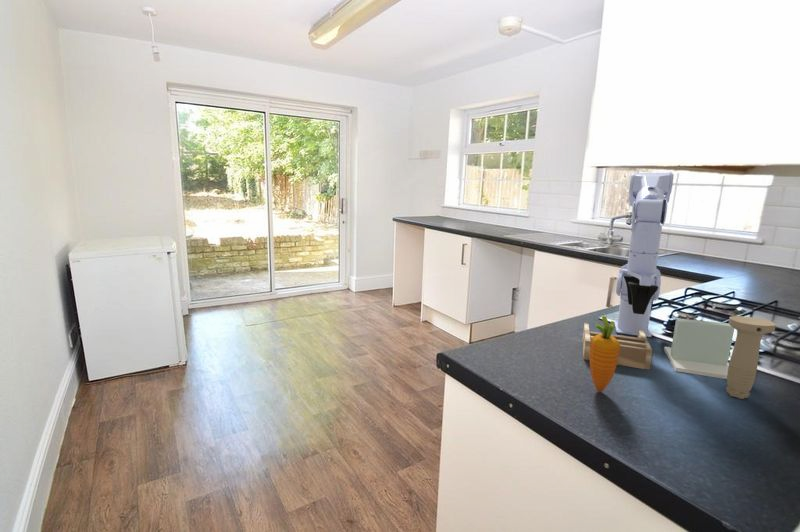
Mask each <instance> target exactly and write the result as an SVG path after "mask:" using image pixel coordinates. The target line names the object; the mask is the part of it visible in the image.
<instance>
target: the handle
mask: <svg viewBox="0 0 800 532" xmlns="http://www.w3.org/2000/svg"><path fill="white" fill-rule="evenodd" d="M728 323H729V325H730V326H732V327H733V328H734V330H736V338H735V341H734V346H733V349H732V352H731V356H730V359H729V361H728V364H729V367H728V374H727V379H726V383H727V384H726V386H725V387H726V388H725V389H726V393H727V394H728V395H729V396H730V397H733V398H737V399H740V400H744V399H748V398H749V397H750V395H751V390H752V388H753V385H754V384H755V379H756V376H757V372H758V365H759V364H758V363H759V354H760V348H761V340H762V338H763V336H765V335H767V334H770V333H774V332H775V330H776V326H777V324H776V323H775V322H773V321H771V320H767V319H765V318H758V317H752V316H744V315H743V316H741V315H740V316H739V315H738V316H737V315H734V316H733V315H732V316H729V318H728Z"/></svg>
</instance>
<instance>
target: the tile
mask: <svg viewBox="0 0 800 532" xmlns="http://www.w3.org/2000/svg"><path fill="white" fill-rule="evenodd" d="M671 348H672V346H671V347H670V346H666V345H665V346H664V347H663V351H664V353H665V354H666V356H667V358H668V359H669V362H670V364H671V366H672V367H673V369H674V371H675V372H679V373H686V374H692V375H699V376H703V377H704V376H705V377H710V378H711V377H713V378H718V379H723V380H724V379H725V380H727V374H728V367H729V363H728V364H727V366H723V365H715V364H707V363H700V362H692V361H685V360H677V359H673V358H672V357H671V356H670V354H671Z"/></svg>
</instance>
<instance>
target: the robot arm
mask: <svg viewBox="0 0 800 532" xmlns="http://www.w3.org/2000/svg"><path fill="white" fill-rule="evenodd" d="M629 180H630V182H629V187H628V188H629V190H628V195H629V196H628V202H629V206H630V207H632V209H631V217H630V218H631V219H630V221H631V230H630V231H631V234H630V240H629V241H630V242H629V251H628V258H627V263H626V264H623V265H622V266H621V267H620V269H619V270H618V274H617V280H616V286H615V287H616V288H615V294H616V295H617V296H618V297H620V298H619V299H620V300H619V301H620V302H619V309H618V316H617V317H618V318H617V320H613V322H614V323H615V325H614V329H615V331H616V333H617V334H624V335H629V336H630V335H631V336H636V337H638V330H642V331H644V333H645V336H646V338H651V337H652V334H651V331H650V330H649V324H650V316H651V310H652V304H653V301H657V300H658V299H659V296H660V292H661V285H662V279H661V275H662V273H661V271H660V269H658V268H657V266H658V265H657V264H658V259H659V249H660V244H661V243H660V242H661V235H662V228H663V226H664V225H665V223H666V219H667V212H668V203H669V202H670V197H671V194H672V190H673V183H674V173H673V172H672V171H669V172H635V171H634V172H633V173H632V174H631V175H630V179H629Z"/></svg>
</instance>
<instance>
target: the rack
mask: <svg viewBox="0 0 800 532" xmlns="http://www.w3.org/2000/svg"><path fill="white" fill-rule="evenodd" d="M598 334H602V332H598V331H592V330H591V331H590V325H589V323H585V322H584V323H583V331H582V354H583V355H582V356H583V360H585V361H590V360H589V359H590V342H591V339H592V337H594V336H596V335H598ZM611 336H613V337H615V338H616V339H617V340H618V342H619V343H620V351H619V357H618V362H617V366H622V367H623V366H624V367H629V368H636V369H637V368H638V369H641V370H648V371H650V369H651V362H652V357H653V356H652V355H653V349H652V347H651V345H650V343H649V340H648V337H646V336H645V333H644V331H642V330H638V336H635V337H634V336H630V335H629V336H628V335H619V334H613V333H612V334H611Z"/></svg>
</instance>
